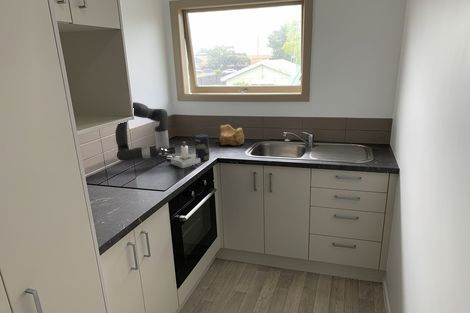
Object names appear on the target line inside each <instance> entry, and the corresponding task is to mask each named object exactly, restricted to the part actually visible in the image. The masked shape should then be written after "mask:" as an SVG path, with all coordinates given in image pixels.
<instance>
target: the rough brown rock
mask: <svg viewBox="0 0 470 313" xmlns="http://www.w3.org/2000/svg"><path fill="white" fill-rule="evenodd" d="M219 129H220V133H219V140H218V141H219V143H220V145H221V146H226V145H231V146H234V147H235V146H236V147H237V146H240V145H242V144H243V143H244V142H245V135H244V131H243V128H242V127H237V128H233V127H232V126H231V125H230V124H221V125H220V128H219Z"/></svg>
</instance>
